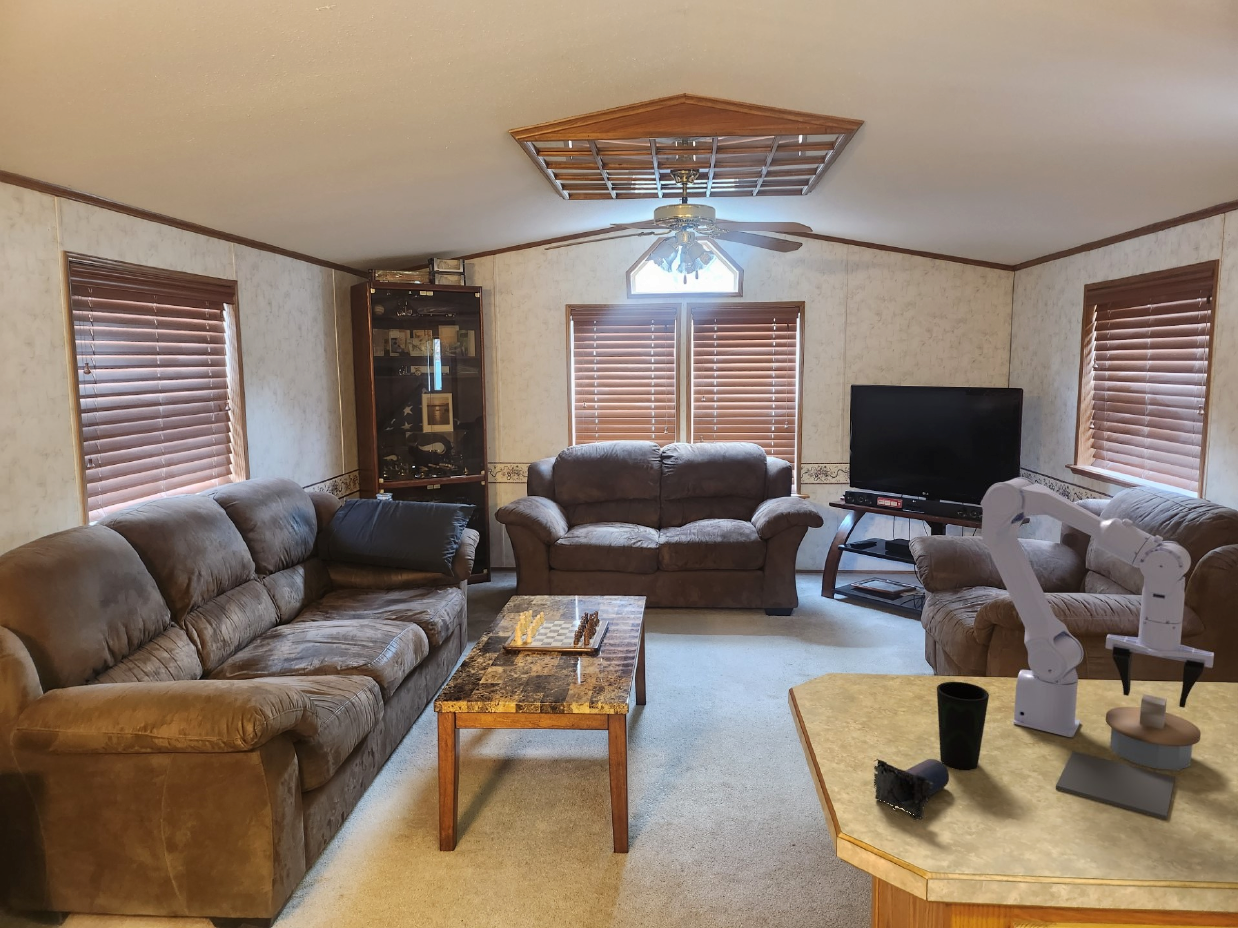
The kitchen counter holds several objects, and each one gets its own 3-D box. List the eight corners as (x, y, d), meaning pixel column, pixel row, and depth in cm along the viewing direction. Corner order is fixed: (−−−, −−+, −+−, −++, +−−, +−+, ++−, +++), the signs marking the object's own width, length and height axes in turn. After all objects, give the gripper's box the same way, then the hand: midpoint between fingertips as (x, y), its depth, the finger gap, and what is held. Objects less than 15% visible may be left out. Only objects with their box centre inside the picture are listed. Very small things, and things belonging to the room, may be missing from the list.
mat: (1055, 788, 126) (1055, 785, 126) (1072, 753, 137) (1072, 750, 137) (1166, 819, 118) (1166, 815, 118) (1174, 779, 129) (1175, 776, 129)
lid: (1100, 731, 135) (1102, 702, 135) (1111, 704, 146) (1113, 678, 145) (1197, 754, 128) (1200, 724, 127) (1202, 724, 138) (1205, 696, 137)
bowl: (1106, 755, 137) (1108, 729, 136) (1116, 731, 145) (1117, 707, 145) (1187, 776, 130) (1190, 748, 129) (1192, 749, 139) (1195, 723, 138)
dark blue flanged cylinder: (918, 831, 118) (955, 804, 126) (932, 783, 116) (968, 758, 124) (861, 796, 124) (900, 772, 132) (874, 750, 122) (912, 728, 131)
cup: (985, 756, 137) (989, 685, 135) (984, 777, 130) (988, 703, 128) (935, 747, 140) (938, 678, 138) (931, 767, 133) (934, 695, 131)
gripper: (1105, 615, 136) (1099, 696, 138) (1215, 633, 127) (1206, 719, 129) (1111, 605, 141) (1105, 682, 143) (1217, 622, 133) (1209, 704, 134)
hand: (1154, 699), depth 136 cm, fingers open, 7 cm apart
